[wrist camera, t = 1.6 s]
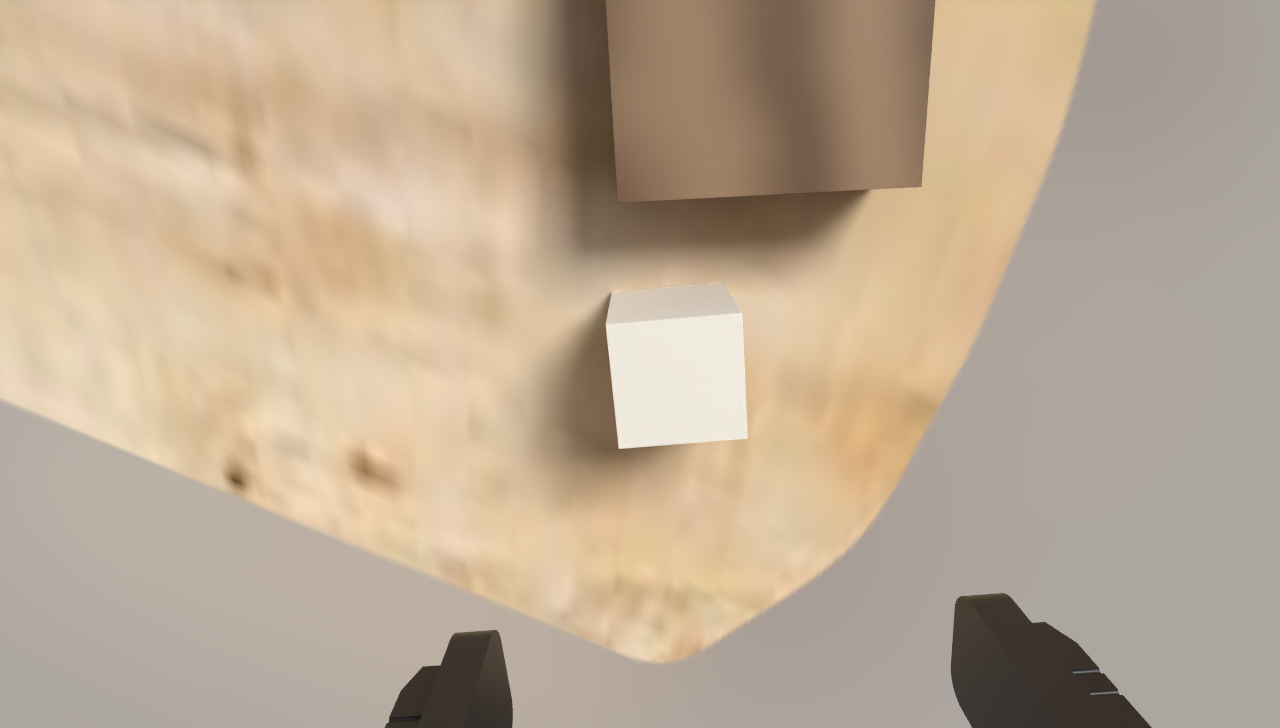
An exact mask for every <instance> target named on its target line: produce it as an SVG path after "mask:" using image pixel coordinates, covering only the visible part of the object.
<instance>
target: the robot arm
mask: <svg viewBox="0 0 1280 728" xmlns="http://www.w3.org/2000/svg"><path fill="white" fill-rule="evenodd" d="M951 676H952V682H953V687H954V691H955V694H956V697H957V700H958V702H959V705H960V707H961V709H962V710H963V712H964V714H965V716H966V717H967V719H968V721H969V723H970V724H971V726H972V728H1151V726H1150V725H1149V724H1148V723H1147V722H1146V721H1145V720H1144V718H1142V716H1141V715H1140V714H1139V713H1138V712H1137V711H1136V709H1135V708H1134V707H1133V706H1132V705H1131V704H1130V703H1129V702H1128V700H1127V699H1126V698H1125V697H1124V696H1123V695H1119V693H1118V689H1117V688H1116V687H1115V686H1114V684H1112V682H1111V681H1110V680H1109V679H1108V678H1107V677H1106V675H1105V674H1104V673H1103V674H1101V673H1100V671H1099V667H1098V666H1097V665H1096V664H1095V663H1094V662H1093V661H1092V660H1091V658H1090V657H1089V656H1088V655H1087V654H1086V653H1085V652H1084V651H1083V649H1082V648H1081V647H1080V646H1079V645H1078V644H1077V643H1076V642H1075V641H1073V640H1072V639H1070V638H1069V637H1067V636H1065V635H1064V634H1062V633H1061V632H1059V631H1058V630H1056V629H1055V628H1053V627H1052V626H1050V625H1048V624H1047V623H1046V622H1040V623H1032V622H1031V621H1030V620H1029V619H1028V618H1027V616H1026V615H1025V614H1024V613H1023V612H1022V611H1021V609H1020V608H1019V607H1018V606H1017V604H1016V603H1015V602H1014V601H1013V599H1012V598H1011V597H1010V596H1008V595H1007V594H1004V593H1000V594H986V595H973V596H961V597H959V598H958V599H957V601H956V604H955V614H954V628H953V644H952V658H951ZM512 720H513V708H512V698H511V692H510V687H509V681H508V676H507V670H506V665H505V659H504V654H503V649H502V643H501V638H500V635H499V633H498V631H497V630H489V631H476V632H463V633H455V634H454V635H453V636H452V637H451V640H450V642H449V645H448V647H447V650H446V653H445V655H444V658H443V660H442V663H441V665H440V666H427V667H422V669H420V670H419V672H418V673H417V674H416V675H415V676H414V677H413V678H412V679H411V680H410V681H409V682H408V684H407V685H406V686H405V687H404V688H403V689H402V690H401V692H400V694H399V696H398V699H397V701H396V703H395V706H394V708H393V710H392V712H391V715H390V717H389V723H387V724H386V727H385V728H512V722H513V721H512Z"/></svg>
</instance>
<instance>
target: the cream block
mask: <svg viewBox="0 0 1280 728" xmlns="http://www.w3.org/2000/svg"><path fill="white" fill-rule="evenodd" d="M606 332H607V342H608V351H609V361H610V370H611V379H612V389H613V398H614V408H615V417H616V426H617V436H618V445H619V449H623V448H636V447H648V446H660V445H673V444H685V443H698V442H710V441H722V440H735V439H747V438H748V435H747V412H746V388H745V364H744V340H743V317H742V311H741V310H740V308H739V307H738V305H737V303H736V302H735V300H734V299H733V297H732V295H731V294H730V292H729V291H728V289H727V287H726V286H725V284H724V283H723V282H715V283H703V284H692V285H680V286H669V287H657V288H645V289H634V290H622V291H612V293H611V299H610V304H609V309H608V315H607V320H606Z"/></svg>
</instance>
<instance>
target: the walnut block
mask: <svg viewBox="0 0 1280 728" xmlns="http://www.w3.org/2000/svg"><path fill="white" fill-rule="evenodd" d="M934 10H935V0H606V16H607V33H608V49H609V66H610V83H611V99H612V116H613V133H614V150H615V166H616V183H617V200H618V203H622V202H641V201H660V200H679V199H698V198H717V197H736V196H755V195H774V194H793V193H812V192H831V191H850V190H869V189H888V188H907V187H921V184H922V170H923V157H924V143H925V130H926V117H927V103H928V90H929V77H930V63H931V50H932V36H933V23H934Z"/></svg>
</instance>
